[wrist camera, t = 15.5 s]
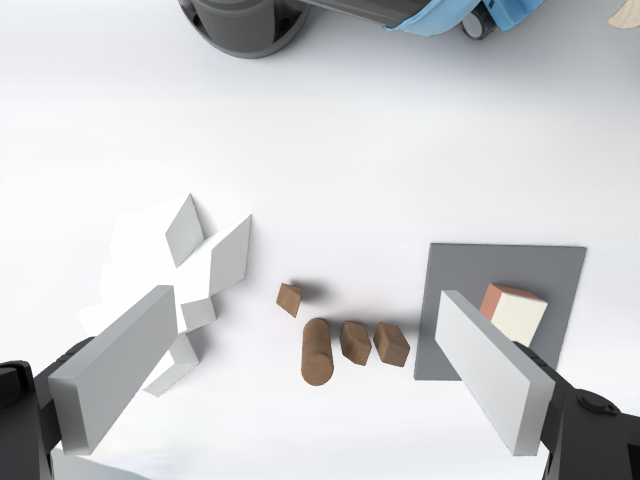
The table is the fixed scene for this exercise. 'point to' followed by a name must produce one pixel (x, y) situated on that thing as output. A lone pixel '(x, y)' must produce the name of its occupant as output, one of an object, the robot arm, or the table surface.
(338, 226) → the table surface
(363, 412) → the table surface
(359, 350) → the wooden block set
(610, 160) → the table surface
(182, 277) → the paper sheets
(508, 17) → the toy excavator
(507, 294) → the card deck
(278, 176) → the table surface
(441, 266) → the rubber mat
